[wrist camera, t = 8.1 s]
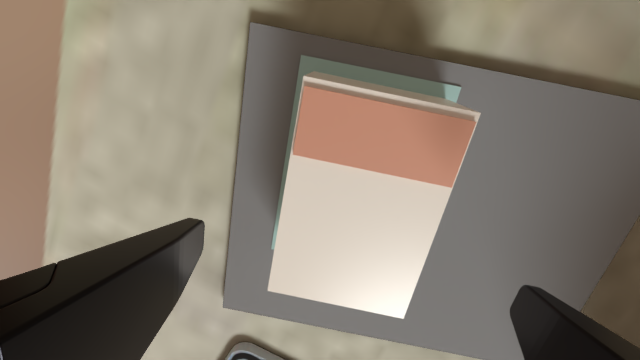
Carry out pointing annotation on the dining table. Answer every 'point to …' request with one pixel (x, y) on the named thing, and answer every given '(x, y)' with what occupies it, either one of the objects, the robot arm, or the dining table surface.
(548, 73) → the dining table surface
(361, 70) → the mat
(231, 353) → the smartphone
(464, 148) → the card box
